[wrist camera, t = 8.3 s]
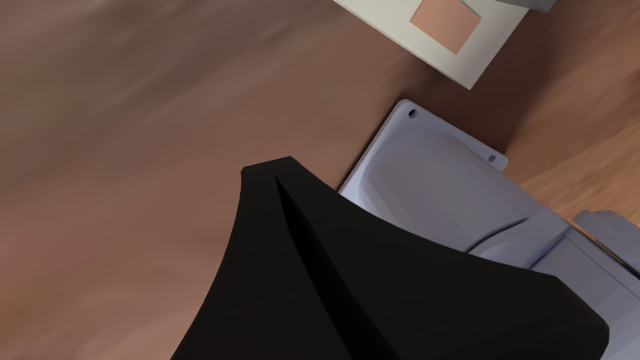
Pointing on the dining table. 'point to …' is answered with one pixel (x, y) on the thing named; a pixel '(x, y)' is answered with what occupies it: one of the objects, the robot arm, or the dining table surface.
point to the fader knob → (532, 4)
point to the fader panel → (444, 30)
